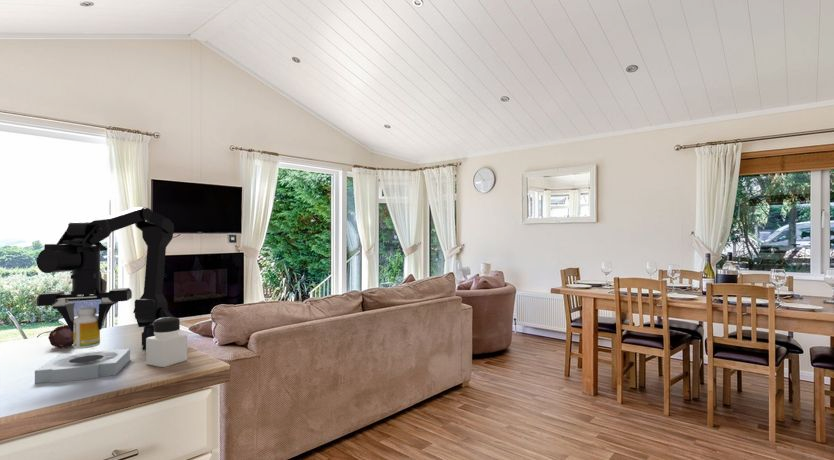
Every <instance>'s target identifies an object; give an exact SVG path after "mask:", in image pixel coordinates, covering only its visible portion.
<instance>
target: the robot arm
mask: <svg viewBox="0 0 834 460" xmlns="http://www.w3.org/2000/svg"><path fill="white" fill-rule="evenodd" d="M133 225H135V228H137V229H138V230H139V231H141V232H142V234H141V236H142V239H143V241H144V243H145V245H146V247H147V248H146V260H145V262H146V263H145V271H144V273H145V275H144V283H143V285H144V286H143V293H142V295H141V296H140V298H136V299H135V300H134V309H133V311H132V312H133V314H134V318H135V320H136V323H137V326H138V328H143V331H142V332H141V349H142V350H146V338H148V337H152V336H155V335H154V321H155V320H157V319H159V318H164V317H175V316H174V315H173V313H171V312H170V311H169V310H168V309H169V308H168V300H167V299H166V297H165V295H164V293H163V292H164V291H163V290H164V280H165V279H164V277H165V276H164V275H165V267H166V266H165V265H166V264H165V263H166V254H167V253H166V252H167V247H168V245H169V244H170V242H171V241H172V240H173V237H174V231H175V225H174V223H173V222H172V220H171V219H169V218H166V216H164V215H162V214H160V213H156V212H155V211H153V210H151V208H149V207H146V206H142V207H141V206H136V207H134V206H133V207H131V208H130V209H127V210H124V211H120V212H116V213H113V214H110V215H106V216H103V217H100V218H94V219H79V220H72V221H70V222H69V223H68V226H67V229H65V231H64V233H63V234H62V235H61V237H60V238H59V240H58V242H57V243H45V244H44V245H43V247H44V249H43V250H41V251H40V252H39V253H38V256H37V258H36V265H37V268H38V269H39V271H41V272H42V273H45V274H51V273H53V274H56V273H62V272H71V274H70V279H71V280H72V281H71V285H72V286H71V289H72V290H70V293H65V291H64V290H63V291H61V290H60V291H45V292H44V293H43V292H42V293H40V294H38V296H37V297H36V299H35V300H36V303H35V304H36V305H35V306H36V307H45V306H46V307H47V306H48V307H49V306H52V307H51V309H55V310H57V312H58V313H59V314H60V315H61V317H62V318H63V319H64V321H65V323H66V325H68V326H69V328H70V330H71V332H73V322H74V319H75V311H74V310H75V303H76V301H77V302H78V301H79V302H80V301H95V300H96V301H98V300H101V301H102V302H100V303H98V313H97V314H98V315H97V316H98V328H99V330H100V331H101V330H102V329H103V326H104V324H105V321H106V318H107V316H108V313H109V311H110V310H111V308H112V306H114V305H115V304H117V303H119V302H125V301H129V300H130V299H132V298H133V297H132V296H133V291H132V289H130V287H124V288H123V287H122V288H113V289H110V290H109V291H107V281H106V279H104V278H103V277H102V271H101V252H106V251H108V247H106V246H105V245H104V244H103V243H101V242H102V241H104V240H105V239H107V238H109V236H110V235H111V233H114V232H116V231H118V230H120V229H124V228H127V227H129V226H133Z"/></svg>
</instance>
